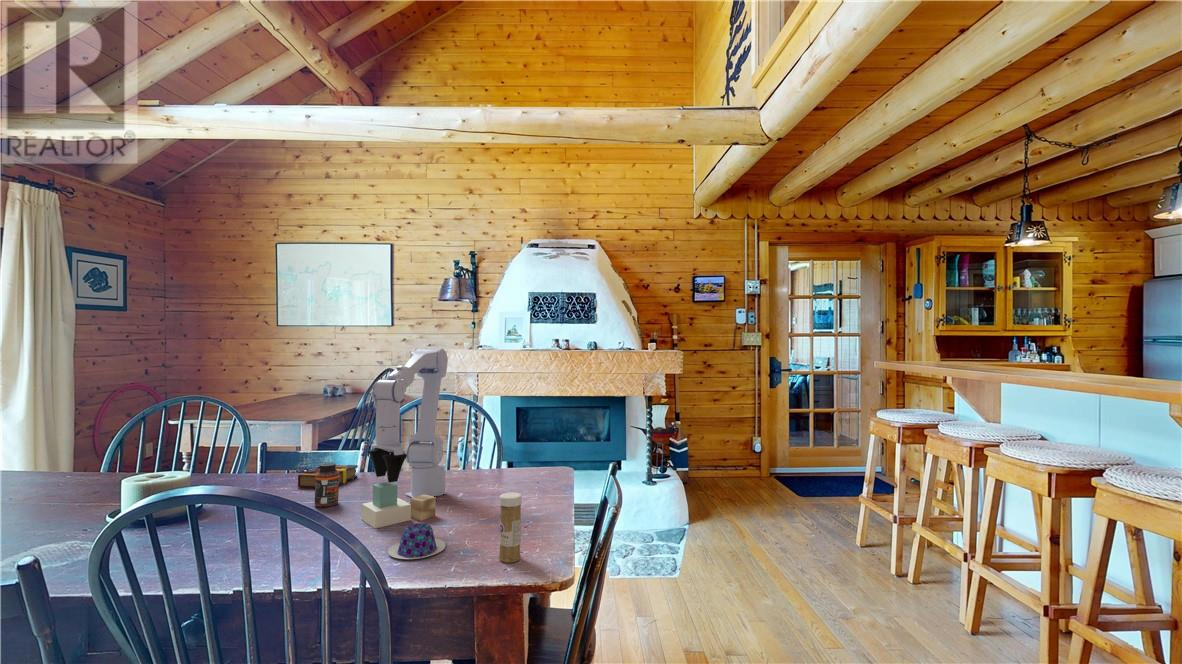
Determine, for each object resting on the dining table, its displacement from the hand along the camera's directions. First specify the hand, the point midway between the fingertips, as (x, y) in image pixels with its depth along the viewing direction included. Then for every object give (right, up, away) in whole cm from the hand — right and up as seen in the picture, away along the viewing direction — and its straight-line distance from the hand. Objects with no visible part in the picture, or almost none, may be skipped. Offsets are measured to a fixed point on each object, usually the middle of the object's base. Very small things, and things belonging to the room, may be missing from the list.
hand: (386, 478), depth 131 cm
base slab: (0, -10, 0) cm, 10 cm away
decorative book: (-33, -12, +36) cm, 50 cm away
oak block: (+9, -11, +2) cm, 14 cm away
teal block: (0, -6, -1) cm, 6 cm away
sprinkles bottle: (+36, -10, -24) cm, 44 cm away
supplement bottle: (-22, -11, +12) cm, 27 cm away
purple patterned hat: (+15, -10, -20) cm, 27 cm away
